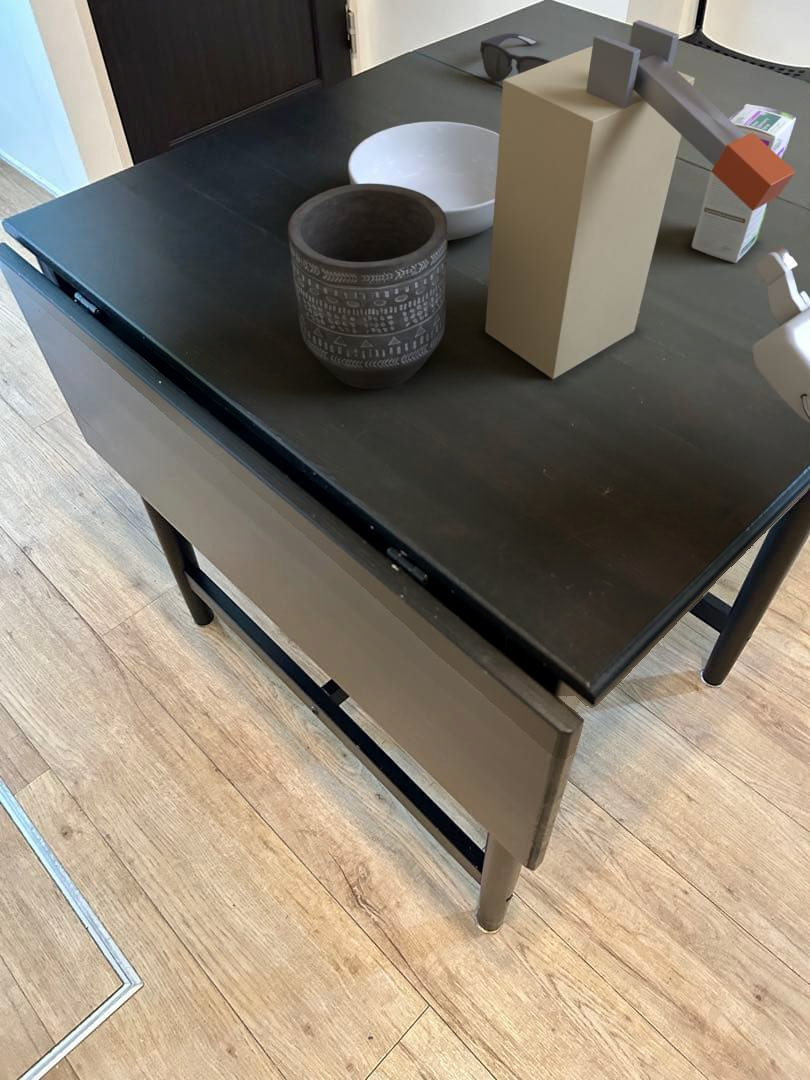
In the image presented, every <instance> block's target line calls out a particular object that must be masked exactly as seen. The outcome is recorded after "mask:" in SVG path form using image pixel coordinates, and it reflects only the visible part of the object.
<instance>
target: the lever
mask: <svg viewBox="0 0 810 1080" xmlns="http://www.w3.org/2000/svg"><path fill="white" fill-rule="evenodd" d="M677 71H678V70H676V69H675V68H674V66H671V65H670V64H668V63H667V62H666V61H665V60H664V59H663V58H662V57H661V56H660V55H659V54H657V53H656V54H654V55H651V56H649V57H646V58H644V59H641V60H639V62H638V67H637V73H636V78H635V83H634V89H633V90H635V91H636V92H637V93H638V94H639V95H640V96H641V97H642V98H643V99H644V100H645V101H646V102H647V103H648V104H649V105H650V106H651V107H652V108H653V109H655V110H656V111H657V112H658V113H659V114H660V115H661V116H662V117H663V118H664V119H665V120H666V121H667V122H668V123H669V124H670V125H671V126H672V127H674V128H675V129H676V130H677V131H678V132H679V133H680V134H681V137H683V138H684V139H685V140H686V141H687V143H689V144H690V145H691V146H692V147H693V148H695V149H696V150H697V151H698V152H699V154H701V155H702V156H703V157H704V158H705V159H706V160H707V161H708V162H709V163H710V164H711V165H714V167H713V169H712V168H711V169H712V170H711V169H710V173H711V172H712V173H713V174H714V175H715V176H716V177H717V178H718V179H720V180H721V181H722V182H723V183H724V184H725V185H726V186H727V187H728V188H729V189H730V190H731V191H732V192H733V193H734V194H735V195H736V196H737V197H738V198H739V199H741V200H742V201H743V202H744V203H745V204H746V205H747V206H748V207H749V208H750V209H751V210H752V211H753V210H755V209H757V208H759V207H761V206H762V205H764V204H766V203H768V202H769V203H770V202H771V201H774V200H776V199H777V198H778V197H779V196H780V194H782V192H783V190H784V189H785V188H786V186H787V185H788V183H789V182H790V180H791V179H792V178H793V176H794V175H795V174H796V171H795V170H794V169H793V168H792V167H791V166H790V164H789V165H788V164H787V162H785V161H784V159H783V160H782V159H781V158H780V157H779V156H778V155H777V154H775V153H774V152H773V151H772V150H771V149H770V148H769V147H768V146H767V145H766V144H765V143H763V142H762V141H761V140H760V139H759V138H758V137H757V136H756V135H755V134H754V133H750V134H748V135H745V134H744V133H743V132H742V131H741V130H740V129H739V128H738V127H737V126H736V125H735V124H734V123H732V122H731V121H730V120H729V119H730V118H728V117H727V115H725V114H724V113H723V112H722V111H720V110H719V109H718V107H716V106H715V104H713V103H712V102H711V101H710V100H709V99H707V97H705V95H703V94H702V92H700V91H699V90H698V88H696V87H695V86H694V85H693V86H692V85H691V84H690V83H689V82H688V81H687V80H686V79H685V78H684V77H683V76H681V75H680V74H679V73H678V72H679V71H678V72H677Z"/></svg>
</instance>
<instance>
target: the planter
mask: <svg viewBox="0 0 810 1080" xmlns="http://www.w3.org/2000/svg"><path fill="white" fill-rule="evenodd" d="M287 235H288V242H289V249H290V260H291V268H292V276H293V282H294V283H293V284H294V289H295V295H296V302H297V312H298V313H297V314H298V321H299V327H300V332H301V336H302V340H303V343H304V344H305V346H306V347H307V349H308V350H309V351H310V353H311V354H312V355H313V356H314V357H315V358H316V359H317V361H318V362H319V363H320V364H321V365H322V366H323V367H324V368H325V369H326V370H328V371H329V372H330V374H332V375H333V376H334V377H335V378H336V379H338V380H339V381H341V383H344V384H346V385H348V386H350V387H351V386H352V387H355V388H359V389H366V390H379V389H380V390H381V389H387V388H392V387H395V386H398V385H400V384H402V383H404V382H407V381H408V380H409V379H411V378H412V377H413V376H414V375H416V373H417V372H418V371H419V370H420V369H421V368H422V367H423V365H424V364H425V363H426V362H427V361H428V360H429V358H430V357H431V356H432V354H433V353H434V352H435V350H436V349H437V347H439V344H440V343H441V341H442V340H443V336H444V334H445V328H446V318H447V316H446V315H447V291H446V288H447V272H448V271H447V269H448V240H447V220H446V216H445V214H444V212H443V210H442V209H441V208H440V206H439V205H438V204H437V203H436V202H434V201H433V200H432V199H430V198H429V197H427V196H426V195H424V194H422V193H420V192H417V191H414V190H411V189H407V188H403V187H399V186H394V185H386V184H372V183H366V184H352V185H351V184H347V185H341V186H338V187H337V186H336V187H334V188H330V189H328V190H325V191H322V192H321V193H318V194H316V195H314V196H312V197H311V198H309V199H307V200H306V201H305V202H303V203H302V204H300V206H298V208H296V210H294V212H293V213H292V214H291V217H290V218H289V220H288V224H287Z"/></svg>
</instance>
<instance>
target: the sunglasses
mask: <svg viewBox="0 0 810 1080" xmlns="http://www.w3.org/2000/svg"><path fill="white" fill-rule="evenodd" d="M509 39H518V40H520V41H523V42H524V43H526V44H528V45H529V46H533V45H536V44H537V42H538V41H537V40H536V39H534V38H531V37H528V36H525V35H523V34H520V33H515V32H514V33H513V32H510V33H509V32H508V33H503V34H499V35H495V36H492V37H489V38H487V39H484V40H482V41H481V42H480V49H479V51H480V54H481V59H482V64H483V69H484V71H485V73H486V75H487V76H488V77H489V78H490V80H492V81H494V82H498V83H499V82H503V80H504V79H507V78H508V77H509V75H510V74H511V73H512V71H513V61H516V63H515V67H516V70H517V74H520V73H523V72H525V71H528V70H531V69H533V68H536V67H538V66H541V65H544V64H546V63H549V62H552V61H553V60H550V59H547V58H543V57H540V56H535V55H522V56H521V55H517V54H513V53H511V52H510V51H509V50H507V49H506V48H504V47H502V46H501V44H502V43H503V42H505V41H506V40H509Z"/></svg>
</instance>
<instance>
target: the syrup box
mask: <svg viewBox="0 0 810 1080" xmlns="http://www.w3.org/2000/svg"><path fill="white" fill-rule="evenodd" d="M728 119H729V120H730V121H731V122H732V123H734V124H735V125H736V126H737V127H738V128H739V129H740V130H741V131H742V132H743V133H744V134H745V135H748V134H750V133H754V134H755V135H756V136H757V137H758V138H759V139H760V140H761V141H762V142H763V143H765V144H766V145H767V146H768V147H769V148H770V149H771V150H772V151H773V152H774V153H775V154H777V155H778V156H779V157H780V158H781V159H782V160H783V161H784V157H785V154H786V152H787V147H788V145H789V141H790V138H791V135H792V133H793V130H794V126H795V123H796V120H797V118H796V116H795V115H793V114H790V113H787V112H784V111H781V110H778V109H775V108H771V107H766V106H761V105H756V104H755V105H754V104H749V103H746V104H745V105H743V107H741V109H739V110H738V111H737V112H735V113H734V114H733V115H732V116H730V117H729V118H728ZM711 165H712V166H711V168H710V172H709V177H708V181H707V185H706V188H705V192H704V196H703V200H702V204H701V208H700V211H699V216H698V219H697V224H696V227H695V230H694V234H693V238H692V243H691V248H692V249H695V250H696V251H699V252H702V253H705V254H707V255H709V256H713V257H716V258H719V259H721V260H724V261H727V262H731V263H734V264H736V263H738V261H739V260H740V259H741V258H742V257H744V255H745V254H746V253H748V251H749V250H750V249H751V248H752V247H753V245H755V243H756V242H757V241H758V238H759V234H760V231H761V227H762V225H763V222H764V219H765V216H766V213H767V210H768V207H769V203H770V202H768V203H766V204H764V205H762V206H761V207H759V208H757V209H755V210H753V211H752V210H751V209H750V208H749V207H748V206H747V205H746V204H745V203H744V202H743V201H742V200H741V199H739V198H738V197H737V196H736V195H735V194H734V193H733V192H732V191H731V190H730V189H729V188H728V187H727V186H726V185H725V184H724V183H723V182H722V181H721V180H720V179H718V178H717V177H716V176H715V175H714V174H713V173H712V172H711V170H712V169H713V167H714V165H713V164H711Z"/></svg>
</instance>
